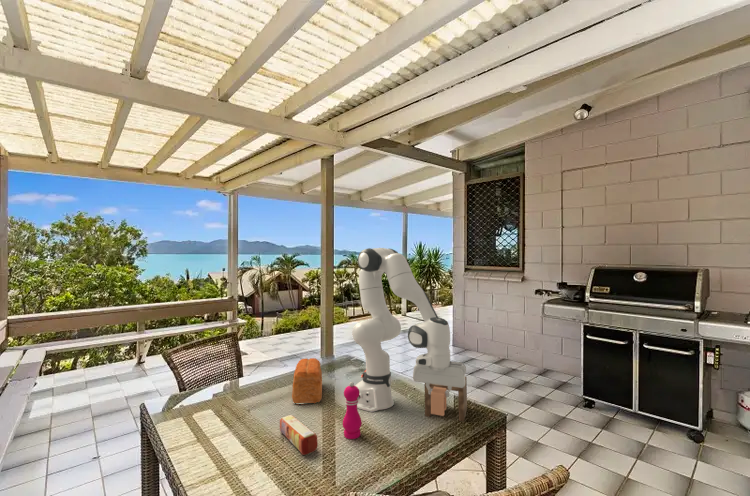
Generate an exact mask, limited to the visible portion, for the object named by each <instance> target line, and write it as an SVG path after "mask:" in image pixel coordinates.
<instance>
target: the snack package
mask: <svg viewBox="0 0 750 496" xmlns="http://www.w3.org/2000/svg"><path fill="white" fill-rule="evenodd" d="M279 432H280V433H281V434H283V435H284V436H285V438H287V440H288V441H289V442H290V443H291V444H292V445H293V446H294V447H295V448H296V449H297V450H298V451H299V452H300V454H301V455H303V456H306V455H310V454H312V453H314V452H316V450H317V448H318V444H319V443H318V435H317V434H316V433H315V432H313V431H312V430H311V429H310V428H308V426H306V425H305V424H303V423H302V422H301V421H300V420H298V419H297V417H295V416H294V415H292V414H289V415H286V416H284V417H281V418H280V419H279ZM309 453H310V454H309Z"/></svg>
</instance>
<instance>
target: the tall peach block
mask: <svg viewBox="0 0 750 496" xmlns="http://www.w3.org/2000/svg"><path fill="white" fill-rule="evenodd" d="M445 391H448V390H447V388H441V387H434V388H433V390H432V392H431V415H436V416H441V417H444V416H445V411H447V408H448V407H447V406H448V405H447V404H448V403H447V401H448V400H447V398H448V397H445Z"/></svg>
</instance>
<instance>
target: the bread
mask: <svg viewBox="0 0 750 496" xmlns="http://www.w3.org/2000/svg"><path fill="white" fill-rule="evenodd" d="M321 365H322V364H321V361H320V360H318V359H317V358H316V357H313V358H311V357H310V358H307V357H306V358H301V359H300V360H298V362H297V363H296V366H295V369H294V371H293V372H294V373H293V382H292V391H291V398H292V402H294V403H314V404H317V403H316V402H318V403H320V402H321V401H322V396H323V371H322V368H321ZM320 400H321V401H320ZM294 403H293V404H294Z"/></svg>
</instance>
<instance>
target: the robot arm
mask: <svg viewBox="0 0 750 496" xmlns="http://www.w3.org/2000/svg"><path fill="white" fill-rule="evenodd" d="M357 264H358V267H359V268H360V269H359V272H358V286H359V288H358V289H359V294H360V295H359V296H360V303H361V306H362V308H363V309H364V310H366V311H367V312H368V313H370V315H371V319H370V318H369V319H365V320H362V321H359V322H357V323H355V324H354V326H353V327H352V330H351V331H352V332H351V333H352V339H353V340H354V342H355V343H356V344H358V345H359V346H360V347H361V349H362V351H363V354H364V358H365V370H363V371H364V372H363V373H362V374H361V375H360V376H361V377H360V378H361V379H362V380H360V381H359V382H357V383H356V384H354V386H356V387H358V389H359V392H360V394H359V397H358V404H357V409H359V410H363V411H367V412H370V413H371V412H376V411H382V410H386V409H389V408H392V407H393V405H394V404H395V401H394V399H393V393H392V387H391V385H392V373H391V368H390V366H391V365H390V362H391V361H390V360H391V359H390V355H389V353H388V352H387V351H386V350H384V349H383V348H382V342H387V341H391V340H393V339H395V338H397V337H399V335H400V334H401V330H402V326H401V323H400V321H399V319H398V318H397V317H395V316H394V315H393V314H392V313H391V310H389V307H388V305H387V303H386V299H385V293H384V288H383V287H384V286H383V282H382V276H383V274H385V275H386V277H387V281H388V284H389V286H390V289H391V291H392V292H393V294H394V295H395V296H397V297H399V298H401V299H404V300H407V301H410V302H411V303H413V304H414V305H415V306H416V307H417V309H418V311H419V313H420V315H421V317H422V319H423V322H421V323H415V324H413V325H410V327H409V328H408V331H407V339H408V343H409V344H410V345H411V346H412V347H413V348H415V349H417V348H418V349H426V351H427V352H426V353H424V354H419V355H418V356H417V357H416V359H415V365H414V367H413V370H412V371H413V372H412V380H413V381H414V382H415V383H421V384H425V383H426V387H427V389H428V394H429V395H431V392H432V390H433V389H431V388H430V386H429V385H430V384H437V385H444V386H448V389H449V390H447V391H445V397H447V398H449V397H450V392H451V391H452V390H451V389H452V387H459V388H463V387H464V386H465V377H466V373H467V365H465V364H464V363H462V361H461V362H460V361H459V362H457V361H453V360H452V361H451V350H450V344H451V330H450V328H451V327H450V324H449V322H448V321H447V320H446V319H445V318H442V317H439V316H438V314H437V312H436V311H435V308H434V306H433V304H432V303H431V301H430V299H429V297H428V295H427V293H426V292H425V290H424V289H423V288H422V287H421V285H419V282H417V280H416V278H415V276H414V274H413V271H412V269H411V267H410V265H409V263H408V261H407V259H406V258H405V256H404V255H403V254H402V253H399V252H398V251H397V250H395V249H393V248H384V247H375V248H372V247H371V248H370V247H369V248H365V249H362V250H361V251H360V252H359V253H358V256H357ZM344 401H345V400H344ZM345 402H346V401H345ZM345 402H344V403H345ZM345 406H347V405H346V403H345Z"/></svg>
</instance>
